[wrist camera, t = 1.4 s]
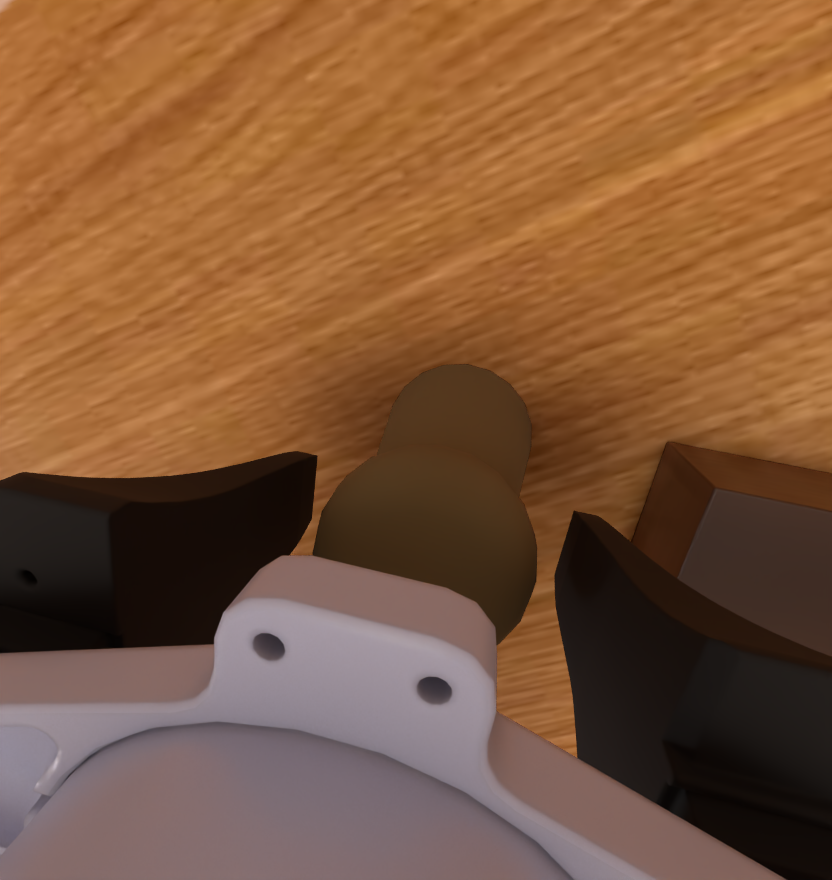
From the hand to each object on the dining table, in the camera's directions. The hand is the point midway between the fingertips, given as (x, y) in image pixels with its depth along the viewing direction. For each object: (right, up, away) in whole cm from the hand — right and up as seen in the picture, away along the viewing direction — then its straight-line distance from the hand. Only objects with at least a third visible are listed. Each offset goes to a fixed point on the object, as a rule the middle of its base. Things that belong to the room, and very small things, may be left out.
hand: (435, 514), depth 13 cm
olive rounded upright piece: (+1, +2, +7) cm, 8 cm away
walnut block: (+14, -1, +6) cm, 15 cm away
